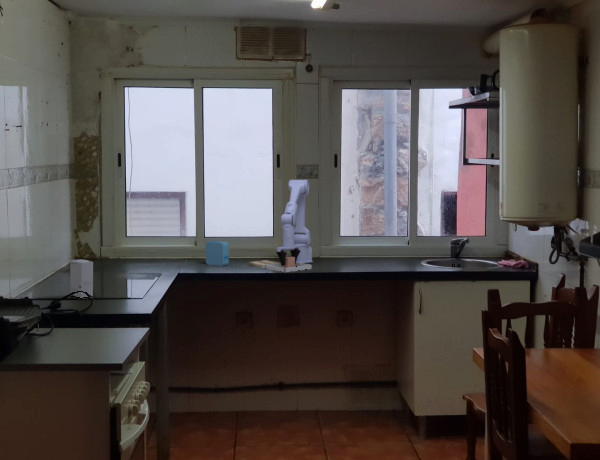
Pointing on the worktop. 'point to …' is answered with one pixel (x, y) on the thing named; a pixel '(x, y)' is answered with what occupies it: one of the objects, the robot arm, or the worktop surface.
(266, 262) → the board
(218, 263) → the data package
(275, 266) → the tray
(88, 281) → the skincare box
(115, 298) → the worktop surface
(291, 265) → the terracotta block
